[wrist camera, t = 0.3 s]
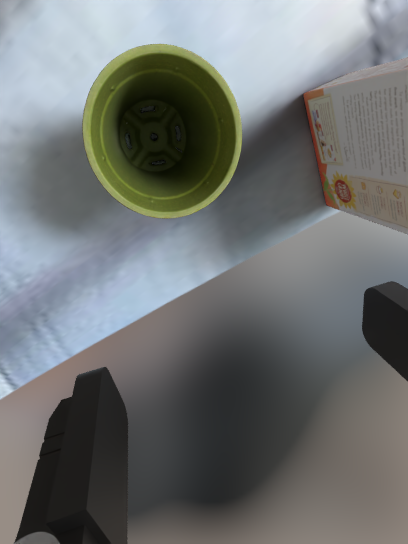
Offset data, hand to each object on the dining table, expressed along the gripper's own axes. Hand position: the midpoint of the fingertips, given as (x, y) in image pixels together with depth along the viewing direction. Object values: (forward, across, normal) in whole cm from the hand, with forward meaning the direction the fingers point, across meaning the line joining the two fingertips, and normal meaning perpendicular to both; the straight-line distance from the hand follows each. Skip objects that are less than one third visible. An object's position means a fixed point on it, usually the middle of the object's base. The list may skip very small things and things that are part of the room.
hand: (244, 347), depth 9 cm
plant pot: (+29, -1, -5) cm, 30 cm away
